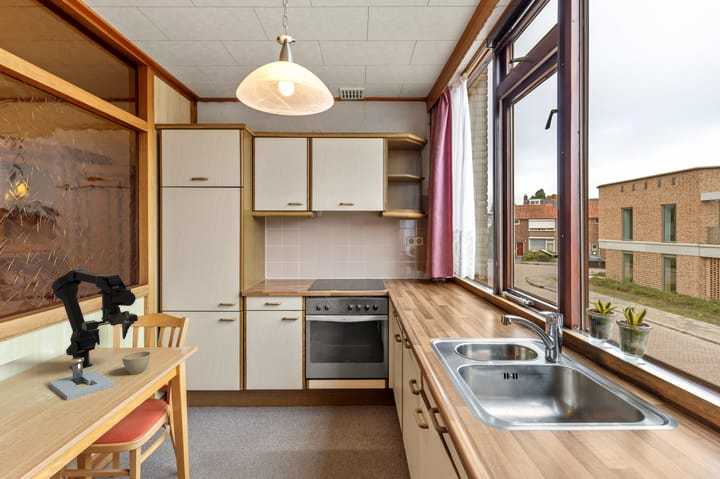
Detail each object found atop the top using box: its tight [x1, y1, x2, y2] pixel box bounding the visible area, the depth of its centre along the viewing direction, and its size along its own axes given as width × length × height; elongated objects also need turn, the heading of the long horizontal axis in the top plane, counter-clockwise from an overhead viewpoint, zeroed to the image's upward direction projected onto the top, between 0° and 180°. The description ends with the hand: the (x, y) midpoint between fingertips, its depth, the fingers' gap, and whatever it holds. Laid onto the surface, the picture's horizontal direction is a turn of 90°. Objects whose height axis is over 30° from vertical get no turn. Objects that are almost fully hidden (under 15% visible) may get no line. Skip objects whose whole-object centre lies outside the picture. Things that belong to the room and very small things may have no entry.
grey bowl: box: [121, 350, 151, 375], centre depth 148 cm, size 10×10×7 cm
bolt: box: [70, 357, 84, 386], centre depth 137 cm, size 4×4×10 cm
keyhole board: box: [49, 369, 114, 401], centre depth 135 cm, size 20×14×2 cm
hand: (111, 341), depth 150 cm, fingers open, 9 cm apart
